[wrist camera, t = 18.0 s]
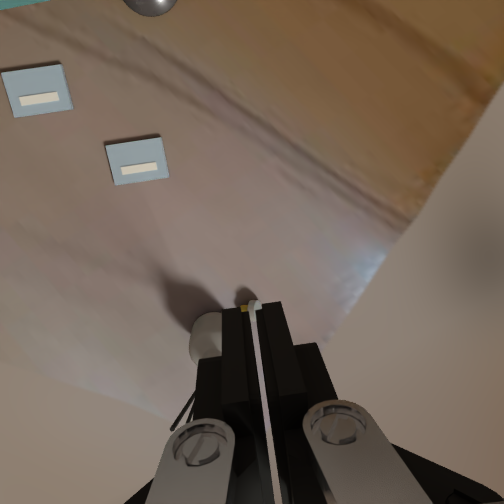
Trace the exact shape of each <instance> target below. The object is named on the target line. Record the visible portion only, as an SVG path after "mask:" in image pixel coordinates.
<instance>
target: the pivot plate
mask: <svg viewBox="0 0 504 504" xmlns="http://www.w3.org/2000/svg"><path fill="white" fill-rule="evenodd" d="M123 1H124V2H125V3H126V4H127V6H128V7H129V8H131V9H132V10H133V11H135V12H136V13H138V14H141V15H143V16H149V17H154V16H160V15H162V14H164V13H166V12H168V11H169V10H170V9H171V8H172V7H173V6H174V4H175V3H176V1H177V0H123Z"/></svg>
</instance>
